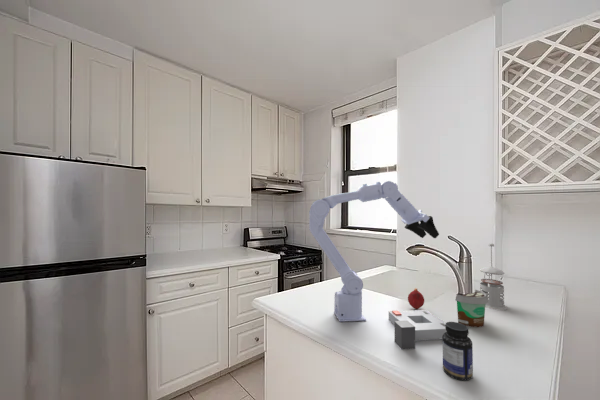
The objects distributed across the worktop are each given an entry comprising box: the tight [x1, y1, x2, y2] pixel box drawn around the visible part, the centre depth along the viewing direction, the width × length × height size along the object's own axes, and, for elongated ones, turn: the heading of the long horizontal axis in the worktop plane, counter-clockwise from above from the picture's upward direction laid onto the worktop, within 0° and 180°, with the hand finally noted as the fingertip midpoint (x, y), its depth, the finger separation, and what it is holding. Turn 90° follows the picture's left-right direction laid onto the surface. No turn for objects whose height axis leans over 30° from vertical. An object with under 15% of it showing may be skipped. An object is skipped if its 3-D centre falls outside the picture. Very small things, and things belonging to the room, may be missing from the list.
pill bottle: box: [441, 321, 474, 381], centre depth 61 cm, size 6×6×11 cm
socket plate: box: [388, 309, 447, 342], centre depth 83 cm, size 14×14×4 cm
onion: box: [407, 287, 425, 310], centre depth 99 cm, size 6×6×8 cm
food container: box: [455, 289, 489, 328], centre depth 87 cm, size 12×6×10 cm, turn 118°
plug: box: [394, 321, 416, 350], centre depth 73 cm, size 4×4×6 cm
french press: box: [479, 242, 508, 311], centre depth 105 cm, size 10×12×25 cm
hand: (430, 236), depth 92 cm, fingers open, 7 cm apart
